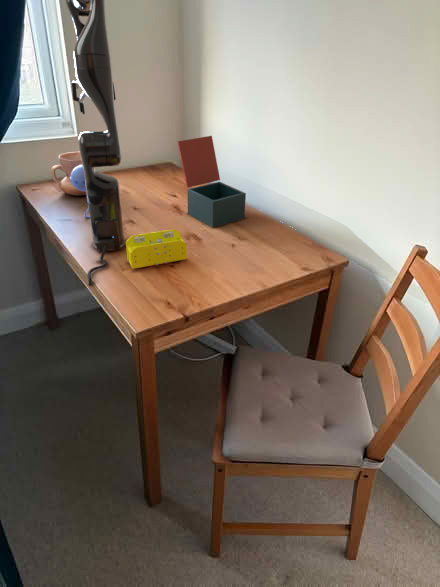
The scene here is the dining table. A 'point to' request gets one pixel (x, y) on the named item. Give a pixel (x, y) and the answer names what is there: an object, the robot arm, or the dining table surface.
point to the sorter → (216, 203)
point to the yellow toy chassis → (155, 248)
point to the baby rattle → (79, 181)
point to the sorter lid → (198, 161)
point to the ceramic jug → (68, 172)
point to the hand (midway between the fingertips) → (96, 113)
